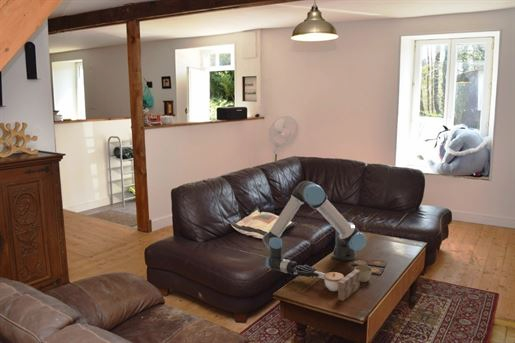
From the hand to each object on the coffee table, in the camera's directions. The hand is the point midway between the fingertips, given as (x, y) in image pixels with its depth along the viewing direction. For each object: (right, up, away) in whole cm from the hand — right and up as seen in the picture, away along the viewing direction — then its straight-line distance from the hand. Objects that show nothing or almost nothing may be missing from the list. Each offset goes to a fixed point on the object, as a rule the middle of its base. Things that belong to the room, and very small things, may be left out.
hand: (324, 276), depth 252 cm
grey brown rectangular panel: (+12, -8, -7) cm, 16 cm away
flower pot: (+24, -5, +9) cm, 26 cm away
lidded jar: (+5, -7, -2) cm, 9 cm away
